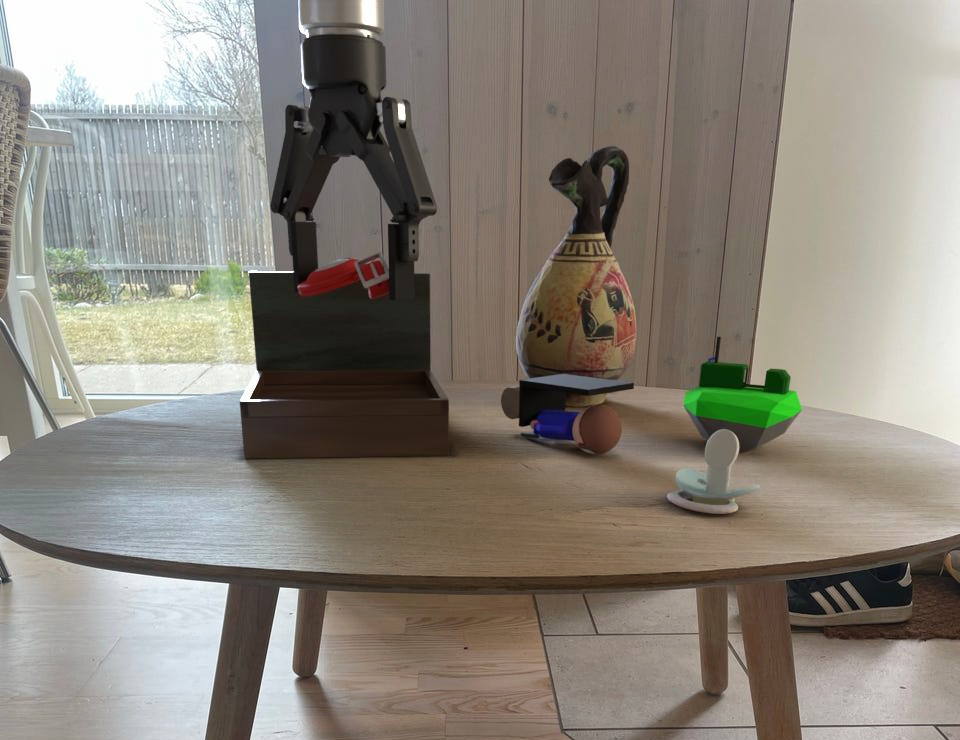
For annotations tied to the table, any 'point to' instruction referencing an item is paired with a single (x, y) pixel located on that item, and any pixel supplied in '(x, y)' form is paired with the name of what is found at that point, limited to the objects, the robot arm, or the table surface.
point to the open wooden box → (341, 374)
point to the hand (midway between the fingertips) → (352, 295)
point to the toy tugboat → (741, 403)
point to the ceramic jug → (582, 285)
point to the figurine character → (547, 417)
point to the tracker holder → (349, 276)
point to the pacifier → (711, 478)
